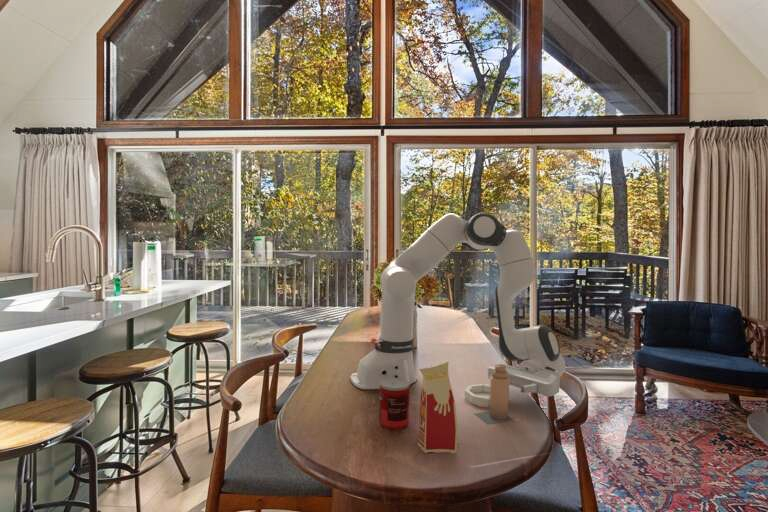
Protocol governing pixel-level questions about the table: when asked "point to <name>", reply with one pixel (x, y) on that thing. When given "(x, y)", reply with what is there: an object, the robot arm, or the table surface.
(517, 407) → the table surface
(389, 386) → the canned food
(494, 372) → the tan knobbed cylinder
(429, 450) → the milk carton
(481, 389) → the bowl
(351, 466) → the table surface
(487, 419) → the felt mat
